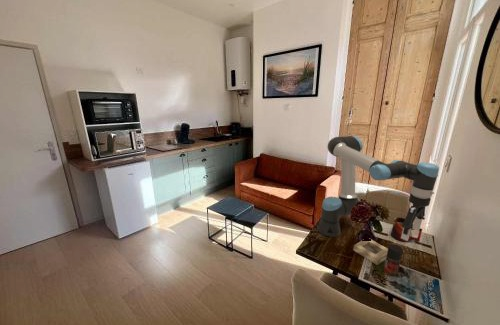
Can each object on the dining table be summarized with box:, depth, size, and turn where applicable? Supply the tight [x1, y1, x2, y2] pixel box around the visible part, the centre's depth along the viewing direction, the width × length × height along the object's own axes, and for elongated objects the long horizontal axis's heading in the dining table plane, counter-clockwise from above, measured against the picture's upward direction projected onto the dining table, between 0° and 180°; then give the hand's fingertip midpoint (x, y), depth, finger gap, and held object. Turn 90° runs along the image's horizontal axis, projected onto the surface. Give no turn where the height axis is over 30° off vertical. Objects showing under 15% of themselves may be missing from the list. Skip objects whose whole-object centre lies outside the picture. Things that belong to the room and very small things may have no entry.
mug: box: [390, 217, 423, 243], centre depth 132 cm, size 10×14×12 cm
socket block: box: [352, 239, 388, 266], centre depth 120 cm, size 14×14×4 cm
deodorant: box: [383, 243, 404, 277], centre depth 105 cm, size 6×6×15 cm
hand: (410, 234), depth 101 cm, fingers open, 13 cm apart
